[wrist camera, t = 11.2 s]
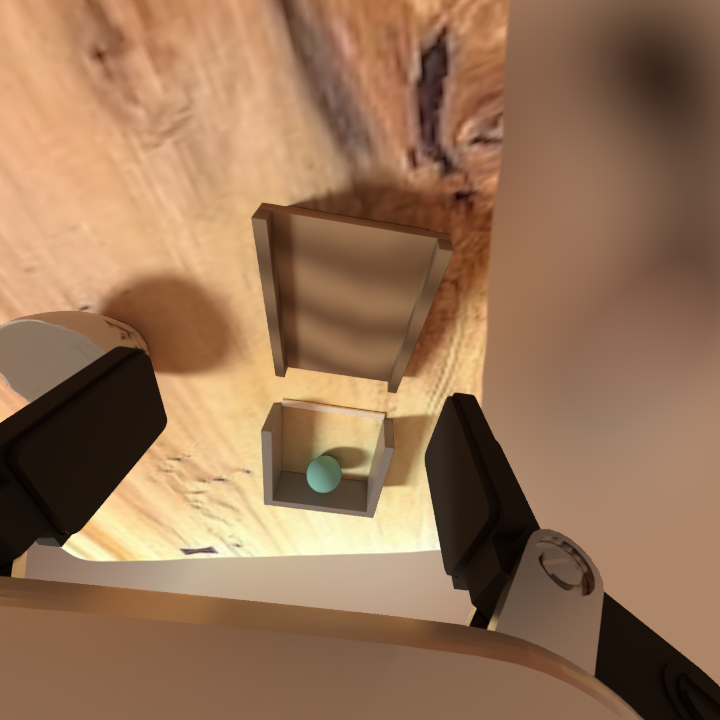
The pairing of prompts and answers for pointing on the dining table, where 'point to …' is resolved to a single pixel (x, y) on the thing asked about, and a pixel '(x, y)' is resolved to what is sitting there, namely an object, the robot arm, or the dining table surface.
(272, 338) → the walnut ramp
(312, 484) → the teal rubber ball
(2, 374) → the teacup
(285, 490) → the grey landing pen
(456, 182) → the dining table surface
